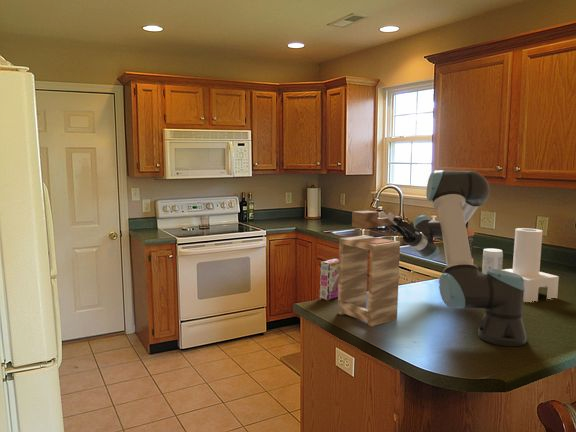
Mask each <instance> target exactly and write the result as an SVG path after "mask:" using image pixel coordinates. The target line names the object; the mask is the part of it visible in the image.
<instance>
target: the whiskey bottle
mask: <svg viewBox="0 0 576 432" xmlns="http://www.w3.org/2000/svg"><path fill="white" fill-rule="evenodd" d="M468 226H469V220H468V221H467V223H466V230H467V236H468V241H469V247H470V252H471V258H472V263H473V264H474V258H473V257H474V256H473V255H474V254H473V253H474V235H475V231H474V230H473V229H471V228H470V227H468Z"/></svg>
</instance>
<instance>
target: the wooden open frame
mask: <svg viewBox="0 0 576 432" xmlns="http://www.w3.org/2000/svg"><path fill="white" fill-rule="evenodd" d="M373 238H378V237H375V236H371V235H365V234H363V235H357V236H347V237H340V238H339V247H338V248H339V249H338V252H339V253H338V259H339V282H338V297H337V315H341V316H344V315H348V316H350V317H353V318H356V319H358V320H360V321H363V322H366V323H367V326H370V327H375V326H378V325H381V324H385V323H388V322H392V321H396V320H397V319H398V304H399V303H398V302H399V301H398V300H399V298H398V297H399V281H400V279H399V278H400V277H399V276H400V255H401V252H400V251H401V241H399V240H394V241H395V242H390V243H383V244H371V243H366V242H361V241H360V240H366V239H373ZM381 238H382V237H381ZM382 239H384V238H382ZM386 239H387V238H386ZM387 240H389V239H387ZM368 257H369V258H368ZM368 261H369V262H368ZM368 263H369V264H368ZM368 265H369V271H368ZM368 274H369V277H368ZM368 281H369V282H368ZM367 289H368V290H367ZM367 291H368V292H367ZM367 293H368V296H367ZM367 297H368V302H367ZM367 304H368V308H367Z"/></svg>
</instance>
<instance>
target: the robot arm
mask: <svg viewBox="0 0 576 432" xmlns="http://www.w3.org/2000/svg"><path fill="white" fill-rule="evenodd" d="M490 190H491V188H490V184H489V181H488V180H487V179H486V177H484V175H482V174H481V173H480V172H477V171H475V170H443V169H441V170H434V171H432V172H431V173H430V175H429V177H428V179H427V184H426V193H425V194H426V199H427V201H429V202H432V204H433V205H432V206H433V208H435V209H436V210H437V211H438V217H439V221H438V220H431V218H430V217H429V216H428V215H427V216H426V215H419V216H417V217H415V218H414V220H413V226H412V225H411V224H410V223H409V222H407V221H406V220H405V221H403V217H402V218H400V220H399V219H398V218H397V217H396V216H397V215H394V214H393V213H392V212H390V211H389V212H388V214H387V213H385V212H384V211H382V210H381V211H380V212H379V214H378V217H387V219H388V220H390V221H391V222H392V223H393V224H395V225H387V226H386V227H387V229H389V230H390V231H392V233H393V234H396V233H397V234H399V235H400V236H401V237H402V240H403V242H404V243H405V244H406V245H407V246H410V247H411V248H412V249H413V251H414V252H417V253H418V254H419V255H421V257H424V258H426V259H427V260H433V259H435V258H436V257H438V255H439V253H440V248H439V246H438V245H437V244H436V243H435V240H434V238H435V239H436V238H439V239H440V238H441V239H442V243H443V250H444V257H445V263H446V267H445V268H444V269H443V271H442V273H441V274H440V276H439V279H438V284H439V287H438V288H439V293H440V297H441V299H442V302H443V303H444V304H445V305H446V306H447V307H449V308H451V309H459V310H463V309H475V310H476V309H478V310H479V309H480V310H481V309H482V310H484V315H483V317H482V319H481V322H480V324H479V326H478V327H477V328H478V329H477V335H478V338H479V339H481V340H483V341H485V342H487V343H490V344H494V345H497V346H504V347H518V346H519V347H520V346H523V345H525V344H527V343H526V342H527V333H526V329H525V325H524V321H523V309H524V308H523V306H524V302H523V298H524V291H525V289H524V279H523V278H522V277H521V276H520V275H518V274H515V273H512V272H508V271H503V270H504V269H502V270H497V269H489V270H488V271H487V274H482V273H481V274H480V271H479V266H477V265H476V264H474V262H473V263H472V258H473V257H472V258H471V252H470V247H469V241H468V236H467V230H466V223H467V221H468V222H469V220H470V219H471V218H472V216H473V215H474V213H476V211H477V210H478V208H479V207H481V206H483V205H484V204H485V203H486V202H487V200H488V198H489V197H490V192H491V191H490Z"/></svg>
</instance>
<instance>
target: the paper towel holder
mask: <svg viewBox="0 0 576 432" xmlns="http://www.w3.org/2000/svg"><path fill="white" fill-rule="evenodd" d="M514 231H515V232H514V242H513V243H514V244H513V259H512V268H505V269H502V270H503V271H508V272H512V273H515V274H518V275H520V276H521V277H522V278H523V279H524V289H525V291H524V298H523V301H524V302H523V303H525V302H530V303H535V302H534V301H536V302H539V289H540V288H543V289H547V291H546V293H547V294H546V300H547V299H550V300H552V299H551V298H556V299H558V290H559V280H560V276H558V275H555V274H550V273H548V272H547V273H546V272H543V271H540V269H541V268H540V267H541V257H542V243H543V230H542V229H538V228H529V227H527V228H525V227H521V228H520V227H517V228H515V230H514ZM532 301H533V302H532Z"/></svg>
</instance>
